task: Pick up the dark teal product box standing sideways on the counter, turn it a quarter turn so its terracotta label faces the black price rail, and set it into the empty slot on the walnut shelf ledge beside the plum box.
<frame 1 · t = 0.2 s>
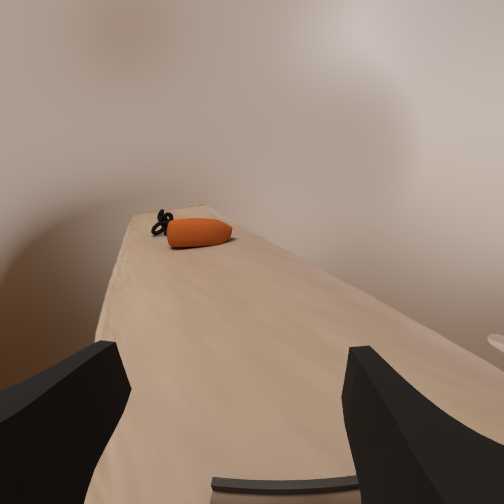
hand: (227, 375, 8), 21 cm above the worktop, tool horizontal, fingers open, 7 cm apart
squiggle: (164, 235, 137), on the worktop
orange rounded block: (201, 245, 114), on the worktop
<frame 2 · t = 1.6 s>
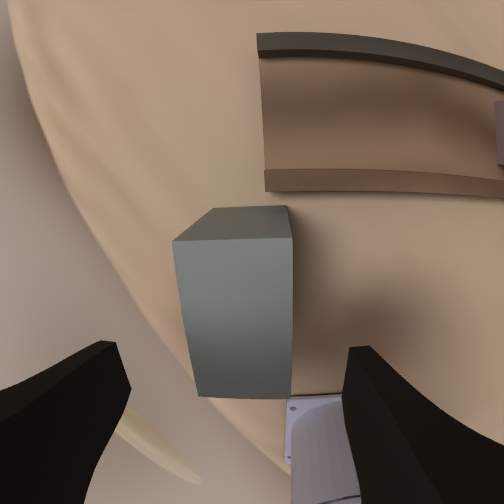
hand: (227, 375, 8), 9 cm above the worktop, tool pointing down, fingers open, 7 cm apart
product box: (252, 266, 17), on the worktop
shelf ledge: (448, 149, 14), on the worktop
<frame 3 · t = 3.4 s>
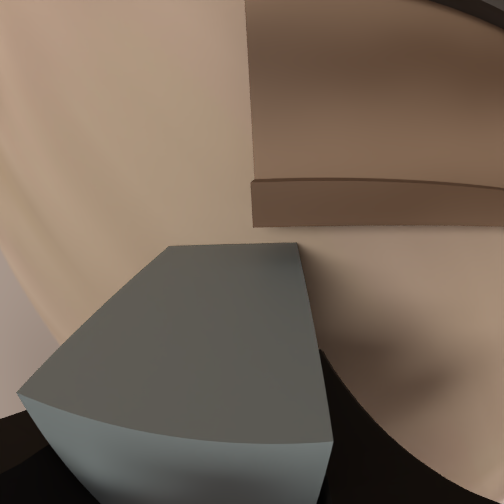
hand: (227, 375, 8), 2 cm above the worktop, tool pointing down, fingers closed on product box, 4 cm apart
product box: (238, 341, 10), on the worktop, touching gripper
when the fingers open (4 cm above the worktop, at t = 7.0 s): product box drops 1 cm, resting on shelf ledge.
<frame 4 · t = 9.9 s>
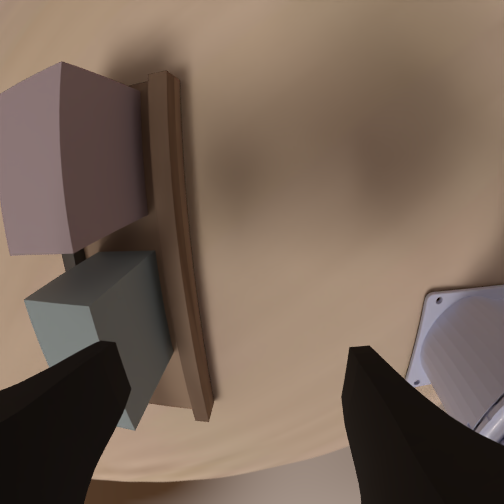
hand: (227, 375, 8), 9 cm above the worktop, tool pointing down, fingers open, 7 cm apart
product box: (135, 304, 18), point 1 cm above the worktop, touching shelf ledge
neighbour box: (111, 157, 15), point 1 cm above the worktop, touching shelf ledge
shelf ledge: (155, 268, 18), on the worktop
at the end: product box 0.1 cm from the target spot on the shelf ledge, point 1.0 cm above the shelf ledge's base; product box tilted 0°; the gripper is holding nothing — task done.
